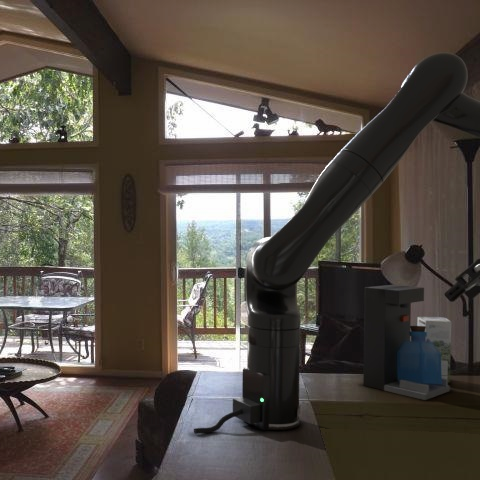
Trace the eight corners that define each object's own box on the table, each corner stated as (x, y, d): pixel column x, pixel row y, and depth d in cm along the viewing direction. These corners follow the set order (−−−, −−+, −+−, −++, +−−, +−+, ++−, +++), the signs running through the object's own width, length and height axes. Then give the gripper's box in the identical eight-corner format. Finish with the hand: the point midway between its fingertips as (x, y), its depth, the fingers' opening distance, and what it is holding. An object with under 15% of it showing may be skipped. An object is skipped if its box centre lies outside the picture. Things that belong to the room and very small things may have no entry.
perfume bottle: (397, 381, 125) (396, 325, 127) (416, 381, 128) (414, 326, 130) (422, 383, 119) (421, 325, 122) (441, 383, 122) (439, 327, 124)
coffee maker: (425, 400, 117) (426, 293, 117) (363, 385, 128) (364, 287, 128) (449, 391, 124) (451, 290, 124) (389, 378, 135) (390, 284, 135)
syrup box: (440, 377, 137) (441, 316, 136) (450, 383, 131) (451, 320, 130) (415, 376, 137) (416, 315, 137) (424, 382, 131) (425, 319, 131)
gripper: (522, 227, 113) (460, 281, 122) (492, 226, 104) (427, 284, 113) (552, 256, 109) (486, 309, 118) (524, 257, 100) (454, 314, 109)
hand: (457, 297), depth 116 cm, fingers open, 8 cm apart
